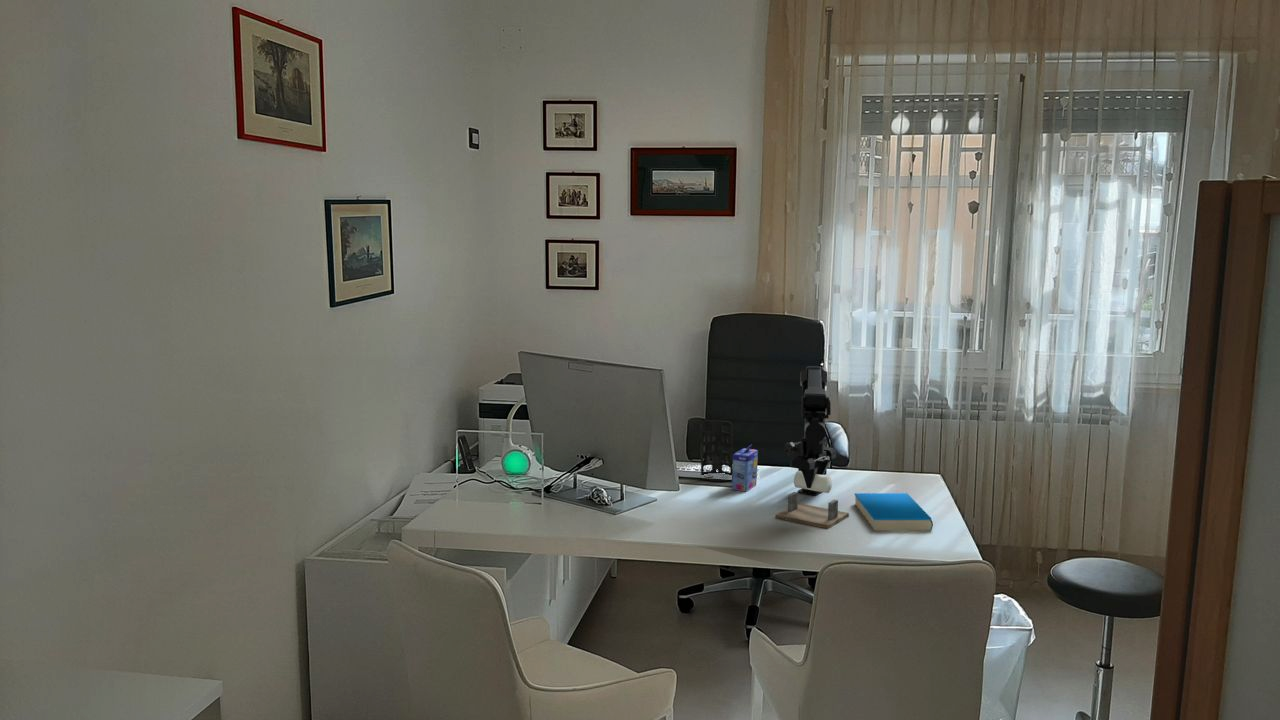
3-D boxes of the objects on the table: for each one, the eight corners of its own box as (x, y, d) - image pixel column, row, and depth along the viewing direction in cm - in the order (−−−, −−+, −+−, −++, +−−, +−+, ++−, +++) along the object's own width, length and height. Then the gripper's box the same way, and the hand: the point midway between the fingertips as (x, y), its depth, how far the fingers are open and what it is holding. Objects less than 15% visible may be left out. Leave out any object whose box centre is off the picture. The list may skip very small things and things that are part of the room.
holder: (701, 482, 318) (701, 424, 315) (699, 476, 326) (699, 419, 323) (733, 482, 319) (734, 424, 316) (731, 475, 326) (731, 419, 323)
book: (874, 518, 269) (853, 492, 293) (873, 533, 269) (853, 505, 294) (934, 518, 269) (908, 491, 294) (933, 532, 270) (908, 505, 294)
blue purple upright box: (747, 492, 307) (747, 449, 304) (731, 490, 309) (731, 447, 307) (758, 484, 315) (758, 442, 313) (742, 482, 318) (743, 440, 316)
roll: (801, 485, 285) (801, 469, 284) (832, 490, 279) (832, 474, 279) (793, 489, 281) (794, 472, 281) (824, 494, 275) (824, 478, 275)
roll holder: (797, 506, 292) (797, 487, 291) (848, 516, 282) (849, 496, 281) (775, 517, 281) (776, 498, 280) (828, 528, 271) (828, 508, 270)
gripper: (804, 425, 290) (802, 474, 292) (774, 436, 275) (773, 488, 277) (837, 430, 283) (836, 480, 286) (809, 442, 268) (808, 495, 271)
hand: (813, 485), depth 280 cm, fingers closed on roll, 5 cm apart
